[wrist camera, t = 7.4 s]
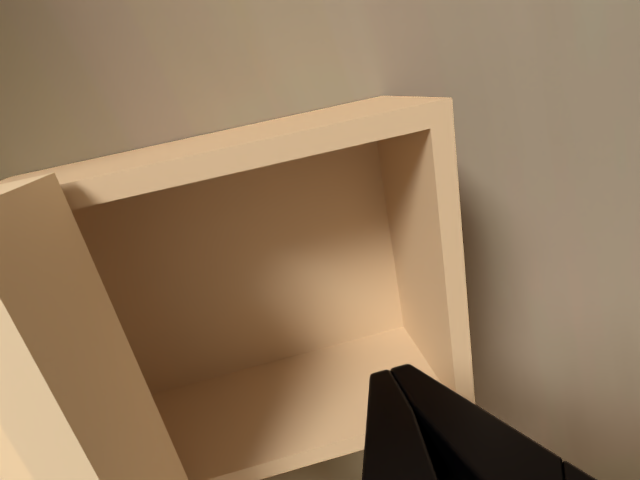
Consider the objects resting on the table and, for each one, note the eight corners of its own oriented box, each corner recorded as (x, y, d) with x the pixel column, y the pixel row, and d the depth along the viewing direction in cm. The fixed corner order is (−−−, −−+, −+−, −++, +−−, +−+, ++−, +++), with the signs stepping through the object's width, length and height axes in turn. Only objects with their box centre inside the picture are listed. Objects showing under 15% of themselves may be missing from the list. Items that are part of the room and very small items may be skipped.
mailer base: (382, 95, 15) (451, 97, 10) (413, 327, 19) (476, 416, 13) (12, 176, 14) (-126, 225, 9) (121, 405, 18) (68, 535, 12)
